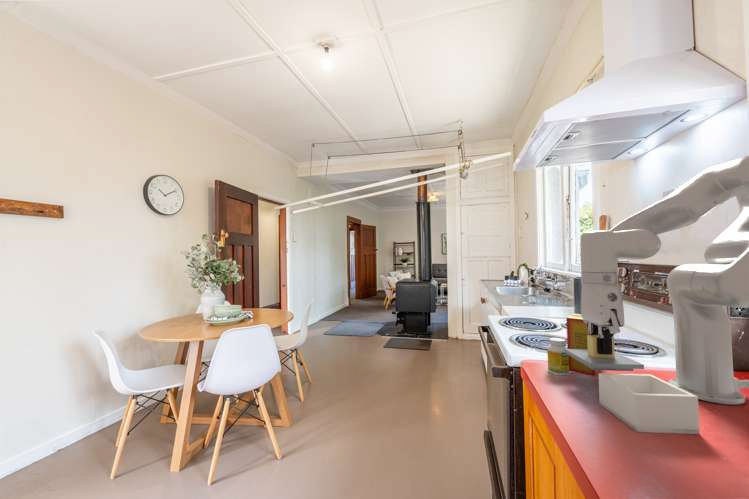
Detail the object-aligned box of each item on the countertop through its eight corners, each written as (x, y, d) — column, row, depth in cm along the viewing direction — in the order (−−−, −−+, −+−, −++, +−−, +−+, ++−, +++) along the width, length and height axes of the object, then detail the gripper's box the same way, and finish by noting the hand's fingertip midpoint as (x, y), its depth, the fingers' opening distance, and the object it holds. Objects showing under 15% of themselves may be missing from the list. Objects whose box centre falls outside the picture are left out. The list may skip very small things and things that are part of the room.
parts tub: (651, 405, 68) (650, 374, 68) (699, 434, 57) (697, 396, 57) (599, 404, 69) (598, 373, 69) (636, 431, 58) (635, 394, 58)
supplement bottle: (553, 367, 92) (552, 335, 92) (572, 373, 87) (571, 339, 88) (544, 371, 89) (543, 338, 89) (563, 377, 84) (562, 342, 85)
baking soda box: (595, 376, 84) (593, 319, 85) (568, 370, 89) (566, 316, 90) (601, 367, 91) (599, 314, 92) (576, 362, 96) (574, 312, 96)
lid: (610, 357, 81) (609, 331, 81) (644, 373, 70) (643, 343, 70) (564, 356, 82) (563, 330, 82) (590, 372, 71) (590, 342, 71)
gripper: (639, 282, 68) (641, 363, 68) (595, 277, 84) (596, 343, 84) (604, 281, 69) (606, 362, 68) (566, 277, 85) (568, 343, 84)
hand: (600, 351), depth 76 cm, fingers closed on lid
